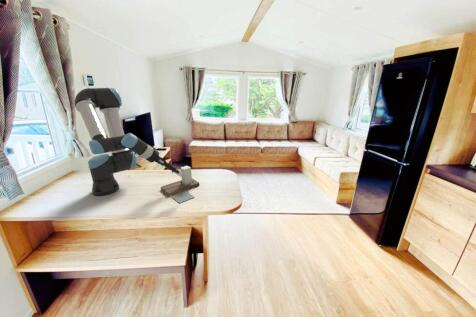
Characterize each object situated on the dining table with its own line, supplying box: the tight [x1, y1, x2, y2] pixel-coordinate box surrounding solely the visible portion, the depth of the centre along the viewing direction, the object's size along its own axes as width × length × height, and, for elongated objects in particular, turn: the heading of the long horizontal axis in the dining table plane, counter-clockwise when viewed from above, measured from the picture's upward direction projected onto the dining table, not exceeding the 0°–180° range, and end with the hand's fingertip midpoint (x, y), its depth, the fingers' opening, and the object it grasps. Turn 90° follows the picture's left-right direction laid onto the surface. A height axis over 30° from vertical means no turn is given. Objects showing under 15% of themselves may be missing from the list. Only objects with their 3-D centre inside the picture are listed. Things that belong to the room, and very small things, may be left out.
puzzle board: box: [160, 177, 200, 197], centre depth 138 cm, size 12×22×2 cm, turn 132°
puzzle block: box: [180, 165, 193, 186], centre depth 139 cm, size 5×5×13 cm
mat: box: [171, 190, 195, 204], centre depth 126 cm, size 10×10×1 cm
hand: (176, 171), depth 131 cm, fingers open, 13 cm apart
